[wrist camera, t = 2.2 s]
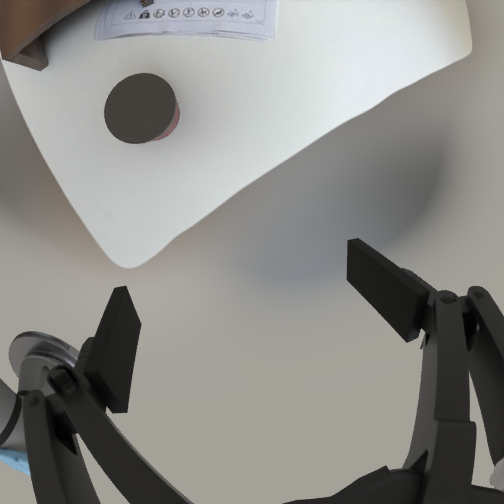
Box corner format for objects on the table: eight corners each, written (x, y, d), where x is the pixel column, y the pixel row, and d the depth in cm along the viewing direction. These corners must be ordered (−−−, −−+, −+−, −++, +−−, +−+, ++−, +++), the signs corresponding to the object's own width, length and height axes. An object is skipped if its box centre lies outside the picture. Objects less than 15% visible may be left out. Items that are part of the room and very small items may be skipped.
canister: (141, 151, 32) (121, 157, 23) (120, 106, 29) (93, 97, 20) (189, 126, 32) (187, 121, 23) (168, 81, 29) (158, 60, 20)
